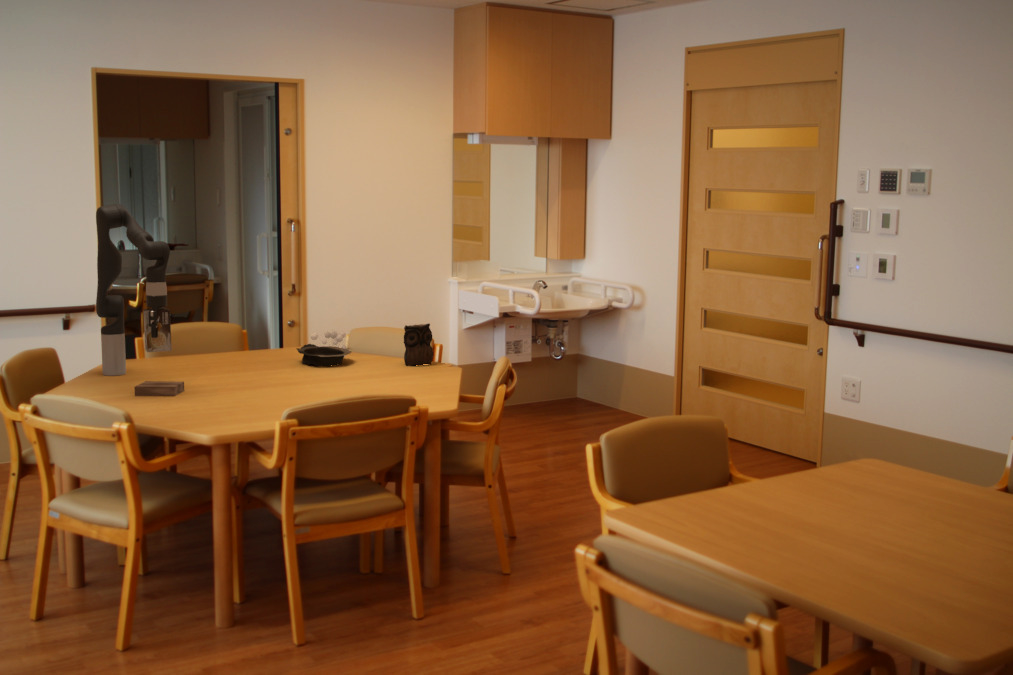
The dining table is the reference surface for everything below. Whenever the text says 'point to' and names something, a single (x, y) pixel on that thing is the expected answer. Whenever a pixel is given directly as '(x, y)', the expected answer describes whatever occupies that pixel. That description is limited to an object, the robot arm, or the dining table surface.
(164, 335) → the coffee box
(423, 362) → the owl
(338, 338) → the decorative flower
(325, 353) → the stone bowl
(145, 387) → the walnut base block
